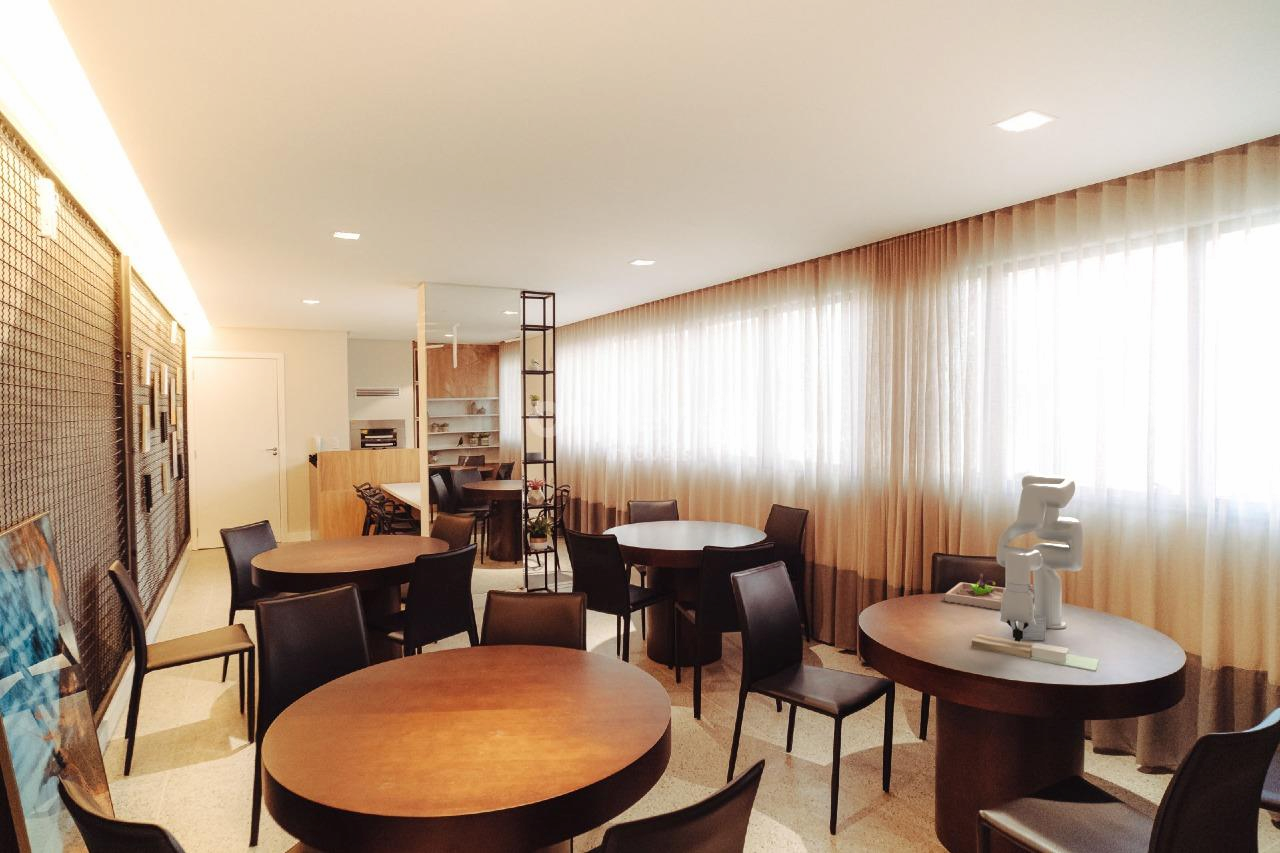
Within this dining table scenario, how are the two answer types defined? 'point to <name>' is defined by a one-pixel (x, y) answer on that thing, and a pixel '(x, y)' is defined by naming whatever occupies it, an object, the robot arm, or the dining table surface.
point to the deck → (1002, 645)
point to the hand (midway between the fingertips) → (1017, 640)
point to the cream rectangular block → (1050, 652)
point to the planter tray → (988, 603)
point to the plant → (982, 591)
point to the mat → (1074, 662)
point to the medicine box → (1035, 629)
